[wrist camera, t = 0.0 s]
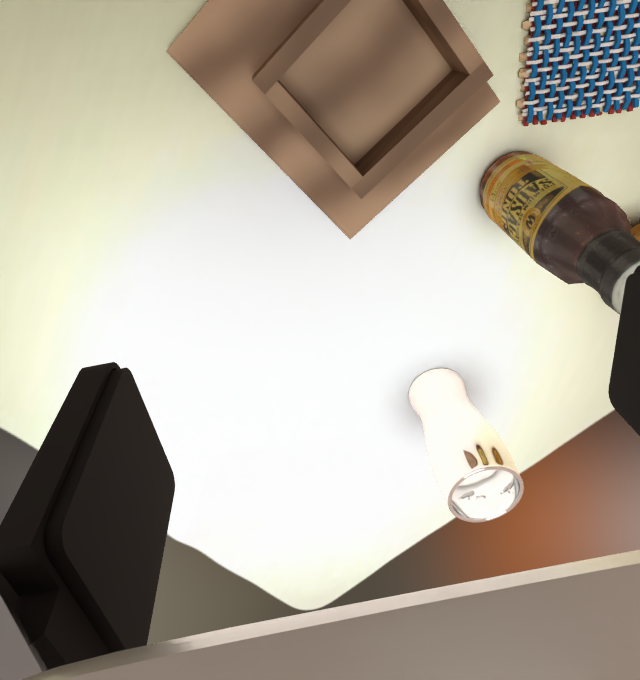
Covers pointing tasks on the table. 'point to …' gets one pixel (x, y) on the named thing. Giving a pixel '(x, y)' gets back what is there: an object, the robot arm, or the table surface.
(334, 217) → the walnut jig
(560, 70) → the woven mat
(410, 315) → the table surface
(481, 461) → the beer glass
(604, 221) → the sauce bottle
